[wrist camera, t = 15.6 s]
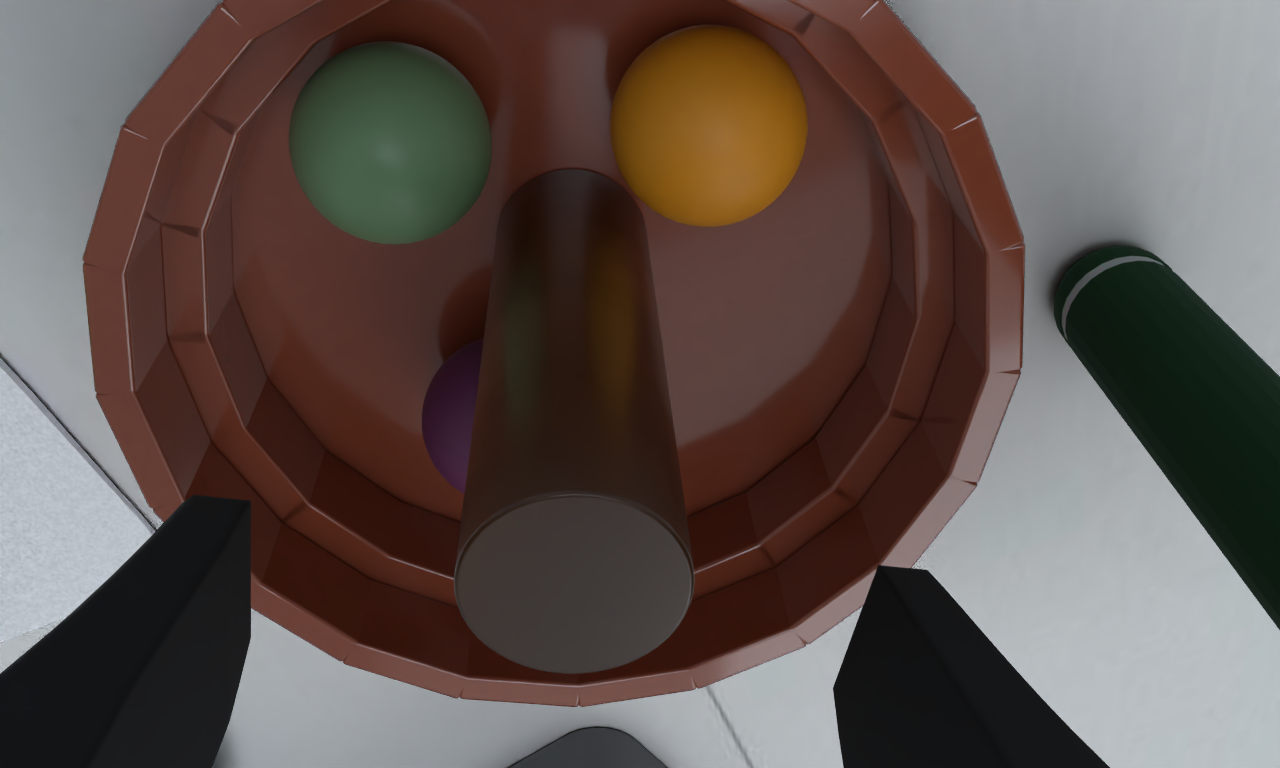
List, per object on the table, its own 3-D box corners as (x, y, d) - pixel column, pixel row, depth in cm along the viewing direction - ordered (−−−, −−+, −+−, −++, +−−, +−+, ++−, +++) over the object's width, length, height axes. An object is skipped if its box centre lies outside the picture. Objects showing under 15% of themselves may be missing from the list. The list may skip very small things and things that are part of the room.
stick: (485, 289, 21) (436, 659, 13) (511, 153, 19) (475, 473, 12) (627, 316, 21) (661, 690, 13) (662, 185, 20) (723, 514, 12)
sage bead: (248, 202, 18) (273, 197, 15) (314, 23, 18) (349, -13, 16) (425, 269, 19) (477, 276, 17) (486, 102, 20) (546, 82, 17)
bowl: (309, 607, 25) (268, 756, 22) (28, -67, 18) (-100, -4, 14) (954, 507, 24) (1016, 643, 21) (945, -231, 17) (1038, -205, 14)
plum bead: (411, 516, 21) (368, 396, 19) (490, 405, 23) (460, 285, 21) (559, 560, 20) (531, 438, 18) (629, 440, 22) (612, 317, 20)
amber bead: (610, 267, 18) (545, 82, 18) (738, 225, 20) (680, 57, 20) (743, 215, 16) (669, 1, 15) (873, 173, 18) (809, -18, 17)
